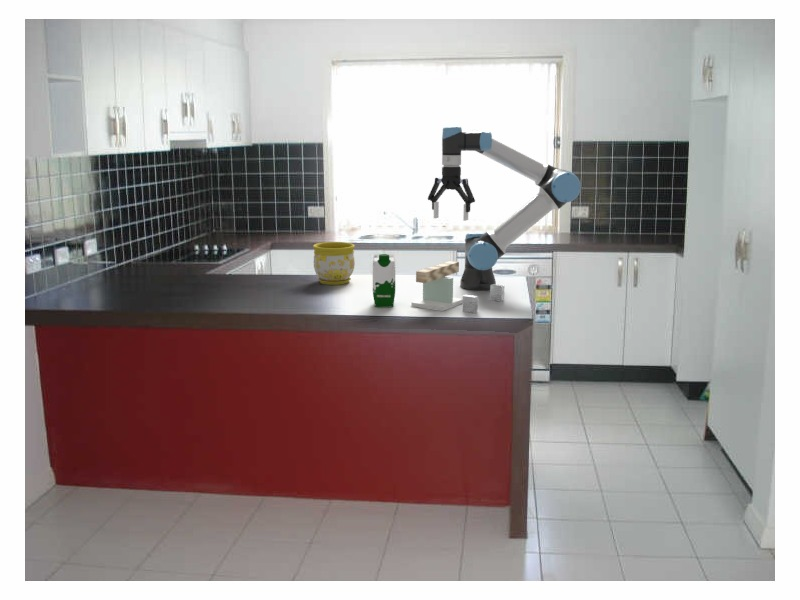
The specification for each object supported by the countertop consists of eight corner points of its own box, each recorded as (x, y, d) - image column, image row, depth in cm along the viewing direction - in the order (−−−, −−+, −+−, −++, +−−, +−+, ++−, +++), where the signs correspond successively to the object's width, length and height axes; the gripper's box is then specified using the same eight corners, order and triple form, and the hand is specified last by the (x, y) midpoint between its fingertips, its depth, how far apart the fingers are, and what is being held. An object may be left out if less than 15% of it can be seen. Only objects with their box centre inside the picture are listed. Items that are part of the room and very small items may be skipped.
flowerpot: (310, 279, 367) (309, 242, 364) (349, 277, 373) (349, 241, 369) (318, 287, 351) (317, 249, 347) (359, 285, 356) (359, 247, 352)
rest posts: (492, 298, 331) (493, 284, 330) (504, 300, 328) (504, 285, 327) (462, 311, 310) (462, 295, 309) (474, 313, 307) (474, 297, 306)
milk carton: (372, 307, 315) (372, 256, 311) (372, 302, 324) (372, 252, 320) (395, 307, 316) (395, 256, 311) (395, 302, 325) (395, 252, 320)
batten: (449, 270, 330) (450, 260, 329) (458, 271, 328) (458, 261, 327) (416, 281, 309) (416, 271, 308) (425, 283, 307) (425, 272, 306)
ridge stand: (432, 298, 331) (432, 271, 329) (463, 302, 324) (463, 275, 321) (411, 306, 318) (411, 278, 316) (443, 311, 311) (443, 282, 308)
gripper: (419, 165, 332) (419, 218, 337) (475, 167, 319) (474, 222, 324) (428, 164, 338) (428, 216, 343) (483, 166, 325) (482, 220, 330)
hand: (450, 219), depth 333 cm, fingers open, 13 cm apart
